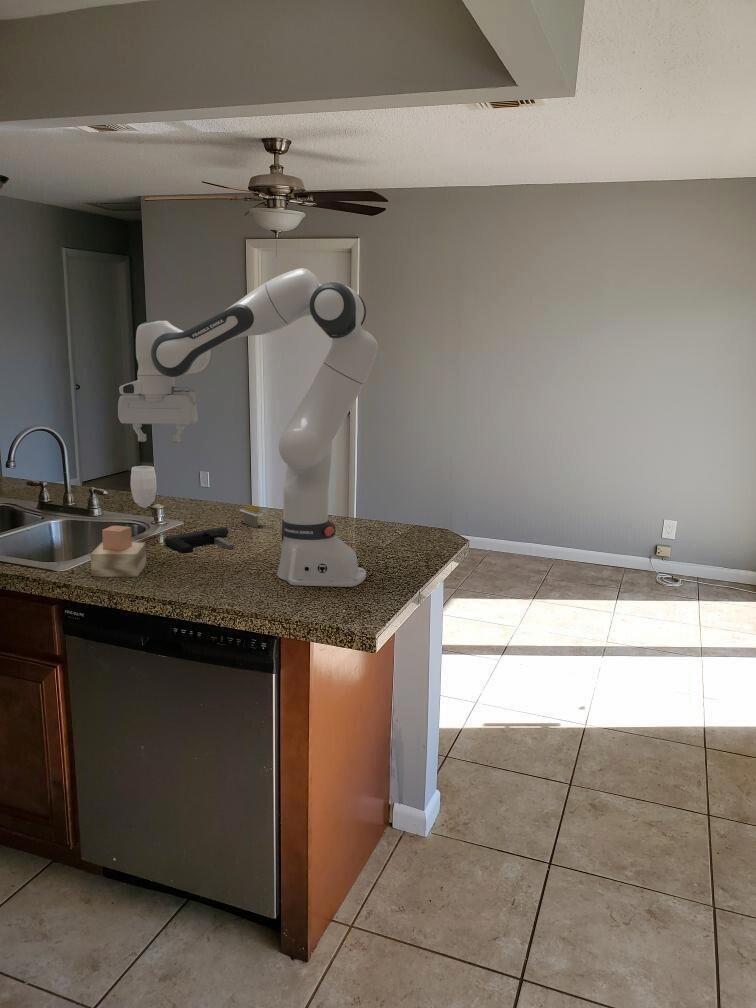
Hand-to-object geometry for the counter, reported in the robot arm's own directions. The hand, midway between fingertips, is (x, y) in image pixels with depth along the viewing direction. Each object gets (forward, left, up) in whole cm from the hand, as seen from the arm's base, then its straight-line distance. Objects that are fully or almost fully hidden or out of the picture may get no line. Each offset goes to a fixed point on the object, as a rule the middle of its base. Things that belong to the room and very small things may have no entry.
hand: (159, 441), depth 199 cm
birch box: (+7, +9, -32) cm, 34 cm away
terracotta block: (+8, +9, -26) cm, 29 cm away
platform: (-8, -46, -32) cm, 57 cm away
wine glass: (+16, -22, -32) cm, 42 cm away
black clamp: (-3, -20, -33) cm, 38 cm away
